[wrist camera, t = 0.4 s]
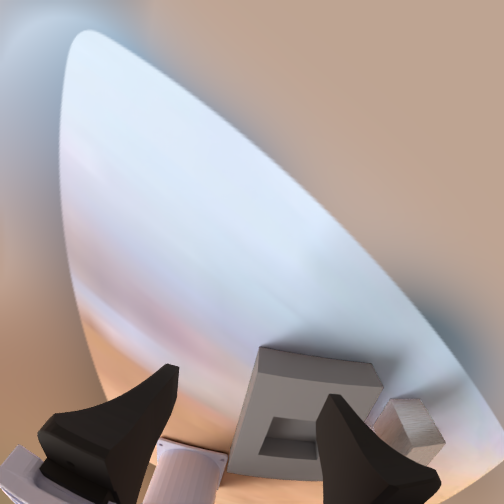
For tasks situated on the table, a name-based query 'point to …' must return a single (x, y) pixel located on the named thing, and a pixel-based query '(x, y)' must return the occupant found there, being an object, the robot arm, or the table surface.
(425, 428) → the square bit
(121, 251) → the table surface
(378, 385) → the bore block
